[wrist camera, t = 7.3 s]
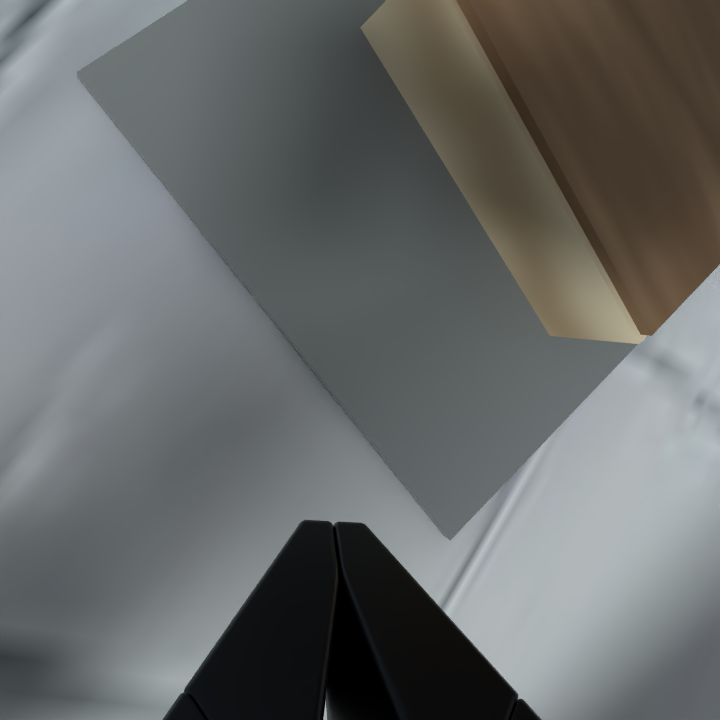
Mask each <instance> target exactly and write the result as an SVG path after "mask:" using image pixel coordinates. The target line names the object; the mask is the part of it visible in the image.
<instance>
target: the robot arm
mask: <svg viewBox="0 0 720 720" xmlns="http://www.w3.org/2000/svg"><path fill="white" fill-rule="evenodd" d="M325 700H326V709H327V720H541V718H540V717H539V716H538V715H537V714H536V713H535V712H534V711H533V710H532V709H531V707H530V706H529V705H528V704H527V703H526V702H525V701H524V700H523V699H518V694H517V692H516V691H515V690H514V689H513V688H512V687H511V686H510V685H509V683H508V682H507V681H506V680H505V679H504V678H503V677H502V676H501V675H500V673H499V672H498V671H497V670H496V669H495V668H494V667H493V666H492V665H491V663H490V662H489V661H488V660H487V659H486V658H485V657H484V656H483V655H482V653H481V652H480V651H479V650H478V649H477V648H476V647H475V646H474V645H473V643H472V642H471V641H470V640H469V639H468V638H467V637H466V636H465V635H464V634H463V632H462V631H461V630H460V629H459V628H458V627H457V626H456V625H455V624H454V622H453V621H452V620H451V619H450V618H449V617H448V616H447V615H446V614H445V612H444V611H443V610H442V609H441V608H440V607H439V606H438V605H437V604H436V602H435V601H434V600H433V599H432V598H431V597H430V596H429V595H428V594H427V592H426V591H425V590H424V589H423V588H422V587H421V586H420V585H419V584H418V582H417V581H416V580H415V579H414V578H413V577H412V576H411V575H410V574H409V573H408V571H407V570H406V569H405V568H404V567H403V566H402V565H401V564H400V563H399V561H398V560H397V559H396V558H395V557H394V556H393V555H392V554H391V553H390V551H389V550H388V549H387V548H386V547H385V546H384V545H383V544H382V543H381V541H380V540H379V539H378V538H377V537H376V536H375V535H374V534H373V533H372V531H371V530H370V529H369V528H368V527H367V526H366V525H365V524H363V523H354V522H336V523H335V524H334V525H332V523H330V522H329V521H315V520H304V521H302V522H301V523H300V524H299V525H298V527H297V528H296V530H295V531H294V533H293V534H292V535H291V537H290V538H289V540H288V541H287V543H286V544H285V545H284V547H283V548H282V550H281V551H280V553H279V554H278V556H277V557H276V558H275V560H274V561H273V563H272V564H271V566H270V567H269V568H268V570H267V571H266V573H265V574H264V576H263V577H262V578H261V580H260V581H259V583H258V584H257V586H256V587H255V588H254V590H253V591H252V593H251V594H250V596H249V597H248V598H247V600H246V601H245V603H244V604H243V606H242V607H241V608H240V610H239V611H238V613H237V614H236V616H235V617H234V619H233V620H232V621H231V623H230V624H229V626H228V627H227V629H226V630H225V631H224V633H223V634H222V636H221V637H220V639H219V640H218V641H217V643H216V644H215V646H214V647H213V649H212V650H211V651H210V653H209V654H208V656H207V657H206V659H205V660H204V661H203V663H202V664H201V666H200V667H199V669H198V670H197V672H196V673H195V674H194V676H193V677H192V679H191V680H190V682H189V683H188V684H187V686H186V687H185V690H184V693H182V694H180V695H179V697H178V698H177V700H176V701H175V702H174V704H173V705H172V707H171V708H170V710H169V711H168V712H167V714H166V715H165V717H164V718H163V720H323V716H324V708H325Z"/></svg>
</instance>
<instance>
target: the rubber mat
mask: <svg viewBox="0 0 720 720" xmlns="http://www.w3.org/2000/svg"><path fill="white" fill-rule="evenodd" d="M385 1H386V0H188V1H187V2H185V3H184V4H182V5H180V6H179V7H177V8H176V9H174V10H173V11H171V12H170V13H168V14H166V15H165V16H163V17H162V18H160V19H159V20H157V21H156V22H154V23H152V24H151V25H149V26H148V27H146V28H145V29H143V30H142V31H140V32H139V33H137V34H135V35H134V36H132V37H131V38H129V39H128V40H126V41H125V42H123V43H121V44H120V45H118V46H117V47H115V48H114V49H112V50H111V51H109V52H107V53H106V54H104V55H103V56H101V57H100V58H98V59H97V60H95V61H94V62H92V63H90V64H89V65H87V66H86V67H84V68H83V69H81V70H80V71H78V72H77V77H78V79H79V80H80V81H81V82H82V84H83V85H84V86H85V87H86V89H87V90H88V91H89V92H90V94H91V95H92V96H93V97H94V99H95V100H96V101H97V102H98V104H99V105H100V106H101V107H102V109H103V110H104V111H105V112H106V114H107V115H108V116H109V117H110V119H111V120H112V121H113V122H114V124H115V125H116V126H117V127H118V129H119V130H120V131H121V132H122V134H123V135H124V136H125V137H126V139H127V140H128V141H129V142H130V144H131V145H132V146H133V147H134V149H135V150H136V151H137V152H138V154H139V155H140V156H141V157H142V159H143V160H144V161H145V162H146V164H147V165H148V166H149V167H150V169H151V170H152V171H153V172H154V174H155V175H156V176H157V177H158V179H159V180H160V181H161V182H162V184H163V185H164V186H165V187H166V189H167V190H168V191H169V192H170V194H171V195H172V196H173V197H174V199H175V200H176V201H177V202H178V204H179V205H180V206H181V207H182V209H183V210H184V211H185V212H186V214H187V215H188V216H189V217H190V219H191V220H192V221H193V222H194V224H195V225H196V226H197V227H198V229H199V230H200V231H201V232H202V234H203V235H204V236H205V237H206V239H207V240H208V241H209V242H210V244H211V245H212V246H213V247H214V249H215V250H216V251H217V252H218V254H219V255H220V256H221V257H222V259H223V260H224V261H225V262H226V264H227V265H228V266H229V267H230V269H231V270H232V271H233V272H234V274H235V275H236V276H237V277H238V279H239V280H240V281H241V282H242V284H243V285H244V286H245V287H246V289H247V290H248V291H249V292H250V294H251V295H252V296H253V297H254V299H255V300H256V301H257V302H258V304H259V305H260V306H261V307H262V309H263V310H264V311H265V312H266V314H267V315H268V316H269V317H270V319H271V320H272V321H273V322H274V324H275V325H276V326H277V327H278V329H279V330H280V331H281V332H282V334H283V335H284V336H285V337H286V339H287V340H288V341H289V342H290V344H291V345H292V346H293V347H294V349H295V350H296V351H297V352H298V354H299V355H300V356H301V357H302V359H303V360H304V361H305V362H306V364H307V365H308V366H309V367H310V369H311V370H312V371H313V372H314V374H315V375H316V376H317V377H318V379H319V380H320V381H321V382H322V384H323V385H324V386H325V387H326V389H327V390H328V391H329V392H330V394H331V395H332V396H333V397H334V399H335V400H336V401H337V402H338V404H339V405H340V406H341V407H342V409H343V410H344V411H345V412H346V414H347V415H348V416H349V417H350V419H351V420H352V421H353V422H354V424H355V425H356V426H357V427H358V429H359V430H360V431H361V432H362V434H363V435H364V436H365V437H366V439H367V440H368V441H369V442H370V444H371V445H372V446H373V447H374V449H375V450H376V451H377V452H378V454H379V455H380V456H381V457H382V459H383V460H384V461H385V462H386V464H387V465H388V466H389V467H390V469H391V470H392V471H393V472H394V474H395V475H396V476H397V477H398V479H399V480H400V481H401V482H402V484H403V485H404V486H405V487H406V489H407V490H408V491H409V492H410V494H411V495H412V496H413V497H414V499H415V500H416V501H417V502H418V504H419V505H420V506H421V507H422V509H423V510H424V511H425V512H426V514H427V515H428V516H429V517H430V519H431V520H432V521H433V522H434V524H435V525H436V526H437V527H438V529H439V530H440V531H441V532H442V534H443V535H444V536H445V537H446V538H448V539H449V540H451V539H452V538H453V537H454V536H455V535H456V534H457V533H458V532H459V531H460V530H461V528H462V527H463V526H464V525H465V524H466V523H467V522H468V521H469V520H470V519H471V518H472V517H473V516H474V515H475V514H476V513H477V512H478V511H479V510H480V509H481V508H482V507H483V505H484V504H485V503H486V502H487V501H488V500H489V499H490V498H491V497H492V496H493V495H494V494H495V493H496V492H497V491H498V490H499V489H500V488H501V487H502V486H503V485H504V483H505V482H506V481H507V480H508V479H509V478H510V477H511V476H512V475H513V474H514V473H515V472H516V471H517V470H518V469H519V468H520V467H521V466H522V465H523V464H524V463H525V462H526V460H527V459H528V458H529V457H530V456H531V455H532V454H533V453H534V452H535V451H536V450H537V449H538V448H539V447H540V446H541V445H542V444H543V443H544V442H545V441H546V440H547V438H548V437H549V436H550V435H551V434H552V433H553V432H554V431H555V430H556V429H557V428H558V427H559V426H560V425H561V424H562V423H563V422H564V421H565V420H566V419H567V418H568V417H569V415H570V414H571V413H572V412H573V411H574V410H575V409H576V408H577V407H578V406H579V405H580V404H581V403H582V402H583V401H584V400H585V399H586V398H587V397H588V396H589V395H590V393H591V392H592V391H593V390H594V389H595V388H596V387H597V386H598V385H599V384H600V383H601V382H602V381H603V380H604V379H605V378H606V377H607V376H608V375H609V374H610V373H611V372H612V370H613V369H614V368H615V367H616V366H617V365H618V364H619V363H620V362H621V361H622V360H623V359H624V358H625V357H626V356H627V355H628V354H629V353H630V352H631V351H632V350H633V348H634V347H635V346H636V345H637V344H633V343H622V342H611V341H600V340H588V339H577V338H566V337H555V336H550V335H549V334H548V332H547V330H546V329H545V327H544V326H543V324H542V322H541V321H540V319H539V317H538V316H537V314H536V313H535V311H534V309H533V308H532V306H531V304H530V303H529V301H528V300H527V298H526V296H525V295H524V293H523V291H522V290H521V288H520V287H519V285H518V283H517V282H516V280H515V278H514V277H513V275H512V274H511V272H510V270H509V269H508V267H507V265H506V264H505V262H504V261H503V259H502V257H501V256H500V254H499V252H498V251H497V249H496V248H495V246H494V244H493V243H492V241H491V239H490V238H489V236H488V235H487V233H486V231H485V230H484V228H483V226H482V225H481V223H480V222H479V220H478V218H477V217H476V215H475V213H474V212H473V210H472V209H471V207H470V205H469V204H468V202H467V200H466V199H465V197H464V196H463V194H462V192H461V191H460V189H459V187H458V186H457V184H456V183H455V181H454V179H453V178H452V176H451V174H450V173H449V171H448V170H447V168H446V166H445V165H444V163H443V161H442V160H441V158H440V157H439V155H438V153H437V152H436V150H435V148H434V147H433V145H432V144H431V142H430V140H429V139H428V137H427V135H426V134H425V132H424V131H423V129H422V127H421V126H420V124H419V122H418V121H417V119H416V118H415V116H414V114H413V113H412V111H411V109H410V108H409V106H408V105H407V103H406V101H405V100H404V98H403V96H402V95H401V93H400V92H399V90H398V88H397V87H396V85H395V83H394V82H393V80H392V79H391V77H390V75H389V74H388V72H387V70H386V69H385V67H384V66H383V64H382V62H381V61H380V59H379V57H378V56H377V54H376V53H375V51H374V49H373V48H372V46H371V44H370V43H369V41H368V40H367V38H366V36H365V35H364V33H363V31H362V30H361V28H360V27H361V26H362V25H363V24H364V23H365V22H366V21H367V20H368V19H369V18H370V17H371V16H372V15H373V14H374V13H375V12H376V10H377V9H378V8H379V7H380V6H381V5H382V4H383V3H384V2H385Z"/></svg>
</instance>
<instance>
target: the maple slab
mask: <svg viewBox="0 0 720 720" xmlns="http://www.w3.org/2000/svg"><path fill="white" fill-rule="evenodd" d="M360 28H361V30H362V31H363V33H364V35H365V36H366V38H367V40H368V41H369V43H370V44H371V46H372V48H373V49H374V51H375V53H376V54H377V56H378V57H379V59H380V61H381V62H382V64H383V66H384V67H385V69H386V70H387V72H388V74H389V75H390V77H391V79H392V80H393V82H394V83H395V85H396V87H397V88H398V90H399V92H400V93H401V95H402V96H403V98H404V100H405V101H406V103H407V105H408V106H409V108H410V109H411V111H412V113H413V114H414V116H415V118H416V119H417V121H418V122H419V124H420V126H421V127H422V129H423V131H424V132H425V134H426V135H427V137H428V139H429V140H430V142H431V144H432V145H433V147H434V148H435V150H436V152H437V153H438V155H439V157H440V158H441V160H442V161H443V163H444V165H445V166H446V168H447V170H448V171H449V173H450V174H451V176H452V178H453V179H454V181H455V183H456V184H457V186H458V187H459V189H460V191H461V192H462V194H463V196H464V197H465V199H466V200H467V202H468V204H469V205H470V207H471V209H472V210H473V212H474V213H475V215H476V217H477V218H478V220H479V222H480V223H481V225H482V226H483V228H484V230H485V231H486V233H487V235H488V236H489V238H490V239H491V241H492V243H493V244H494V246H495V248H496V249H497V251H498V252H499V254H500V256H501V257H502V259H503V261H504V262H505V264H506V265H507V267H508V269H509V270H510V272H511V274H512V275H513V277H514V278H515V280H516V282H517V283H518V285H519V287H520V288H521V290H522V291H523V293H524V295H525V296H526V298H527V300H528V301H529V303H530V304H531V306H532V308H533V309H534V311H535V313H536V314H537V316H538V317H539V319H540V321H541V322H542V324H543V326H544V327H545V329H546V330H547V332H548V334H549V335H550V336H555V337H566V338H577V339H588V340H600V341H611V342H622V343H633V344H640V343H641V342H642V341H643V340H644V339H645V338H646V337H647V336H648V335H651V336H652V335H653V334H654V333H655V332H656V331H657V330H658V328H659V327H660V326H661V325H662V324H663V323H664V322H665V321H666V320H667V319H668V318H669V317H670V316H671V315H672V314H673V313H674V312H675V311H676V310H677V308H678V307H679V306H680V305H681V304H682V303H683V302H684V301H685V300H686V299H687V298H688V297H689V296H690V295H691V294H692V293H693V292H694V291H695V290H696V289H697V287H698V286H699V285H700V284H701V283H702V282H703V281H704V280H705V279H706V278H707V277H708V276H709V275H710V274H711V273H712V272H713V271H714V270H715V269H716V268H717V266H718V265H719V264H720V0H386V1H385V2H384V3H383V4H382V5H381V6H380V7H379V8H378V9H377V10H376V12H375V13H374V14H373V15H372V16H371V17H370V18H369V19H368V20H367V21H366V22H365V23H364V24H363V25H362V26H361V27H360Z"/></svg>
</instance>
